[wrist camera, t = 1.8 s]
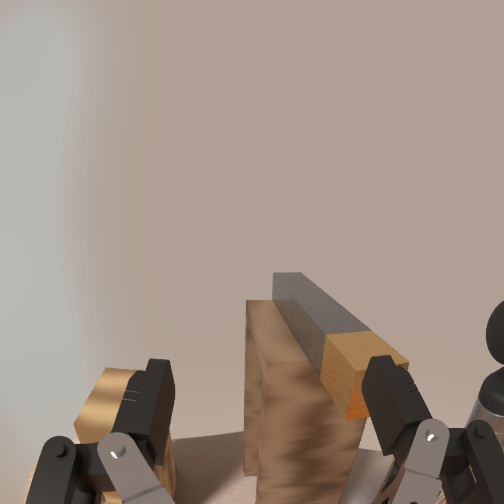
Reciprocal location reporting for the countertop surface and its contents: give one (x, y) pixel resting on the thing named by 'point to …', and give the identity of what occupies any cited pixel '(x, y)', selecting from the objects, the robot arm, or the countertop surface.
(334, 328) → the grey and wood bar
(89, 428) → the oak block
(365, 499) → the countertop surface
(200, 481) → the countertop surface
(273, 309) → the walnut bridge
